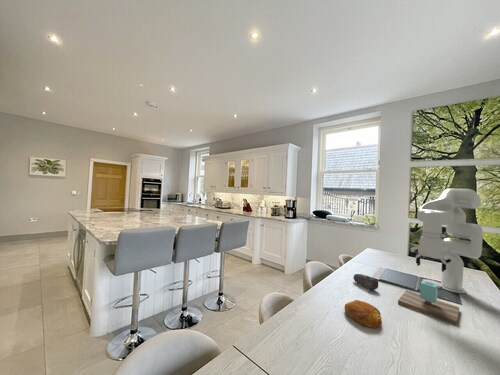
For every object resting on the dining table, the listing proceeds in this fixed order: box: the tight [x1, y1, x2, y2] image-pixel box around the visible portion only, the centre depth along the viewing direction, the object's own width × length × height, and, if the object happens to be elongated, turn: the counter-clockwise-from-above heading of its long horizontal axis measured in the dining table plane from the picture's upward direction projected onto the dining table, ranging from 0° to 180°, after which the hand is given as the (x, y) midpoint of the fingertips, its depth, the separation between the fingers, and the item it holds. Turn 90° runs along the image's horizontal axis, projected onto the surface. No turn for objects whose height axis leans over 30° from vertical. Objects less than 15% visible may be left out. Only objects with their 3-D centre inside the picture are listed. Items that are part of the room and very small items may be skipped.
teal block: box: [419, 279, 439, 303], centre depth 109 cm, size 6×6×8 cm
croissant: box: [344, 299, 383, 329], centre depth 97 cm, size 14×16×8 cm
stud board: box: [397, 289, 460, 326], centre depth 109 cm, size 18×22×11 cm
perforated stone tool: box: [353, 273, 379, 291], centre depth 130 cm, size 15×5×7 cm, turn 27°
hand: (430, 268), depth 109 cm, fingers open, 9 cm apart
